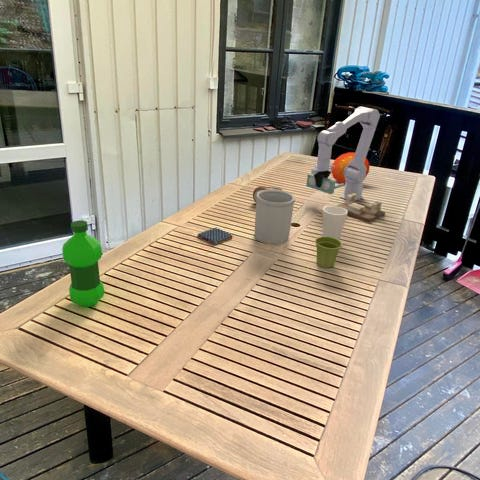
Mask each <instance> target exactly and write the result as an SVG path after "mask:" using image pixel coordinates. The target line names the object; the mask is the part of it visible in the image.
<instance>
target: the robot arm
mask: <svg viewBox="0 0 480 480" xmlns="http://www.w3.org/2000/svg"><path fill="white" fill-rule="evenodd" d="M380 116H381V115H380V112H379V110H378V109H376V108H372V107H371V108H369V107H365V106H358V107H357V108H355V109H354V112H353V113H352V114H351V115H349V116H348V117H347V118H346V119H345V120H343V121H337V122H335V124H334V125H332V126H330V127H329V128H327V129H326V130H322V131H320V132H319V133H318V135H317V138H316V140H317V142H318V145H317V146H318V154H317V160H316V165H314V168H312V169H311V172H310V173H311V174H313V175H314V177H315V181H316V187H319V188H320V187H321V184H322V180H323V178H324V177H325V178H328V179H329V176H330V175H332V172H331V169H333V165H332V164H331V157H332V149H333V145H334V144H336V142H337V140H338V139H339V138H340V137H342V136H343V135H344V134H345V133H346V132H347V129H348V128H350V127H352V126H353V125H356V124H357V123H358V122H359V123H360V125H361V126H362V128H363V129H362V132H361V134H360V138H359V142H358V144H357V147H356V150H355V152H356V153H355V156H354V159H353V161H351V162H349V163H348V165H347V167H346V168H345V170H344V177H345V180H346V184H344V191H343V195H340V196H339V198H341V199H344V200H347V195H350V194H353V193H355V194H357V198H356V201H359V200H361V199H364V196H362V195H363V192H364V181H365V179H366V178H365V177H367V176H366V170H367V168H366V166H365V165H364V161H365V158H366V159H367V156H368V152H369V149H370V146H371V143H372V141H373V138H374V135H375V132H376V129H377V126H378V123H379V120H380V118H381V117H380ZM355 167H356V168H355ZM357 168H358V169H357Z"/></svg>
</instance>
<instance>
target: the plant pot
mask: <svg viewBox="0 0 480 480" xmlns="http://www.w3.org/2000/svg"><path fill="white" fill-rule="evenodd" d="M314 242H315V248H316V264H317V265H318V266H319V267H321V268H324V269H329V268H333V266H334V265H335V263H336V259H337V257H338V253H339V251H340V249H341V248H342V247H343V243H342V241H341V240H340V239H339V240H338V239H336V238H333V237H326V236H325V237H323V236H319V237H316V238H315V240H314Z"/></svg>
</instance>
